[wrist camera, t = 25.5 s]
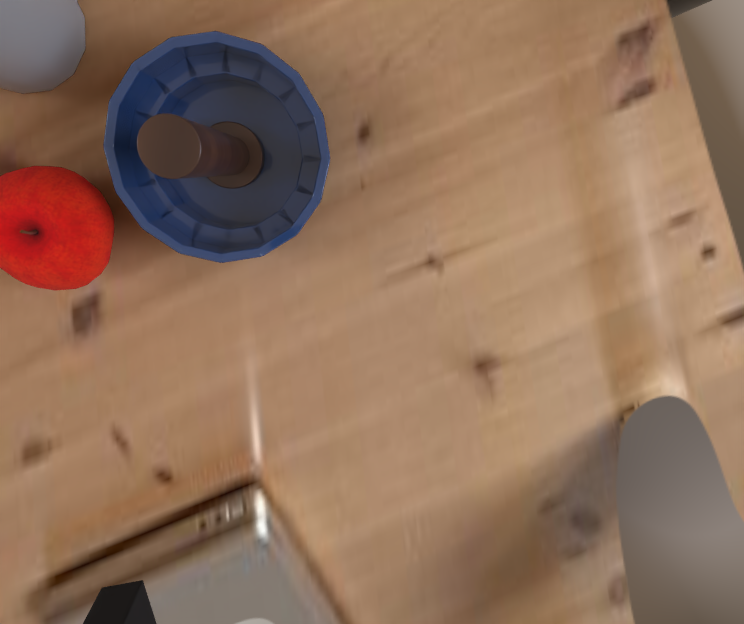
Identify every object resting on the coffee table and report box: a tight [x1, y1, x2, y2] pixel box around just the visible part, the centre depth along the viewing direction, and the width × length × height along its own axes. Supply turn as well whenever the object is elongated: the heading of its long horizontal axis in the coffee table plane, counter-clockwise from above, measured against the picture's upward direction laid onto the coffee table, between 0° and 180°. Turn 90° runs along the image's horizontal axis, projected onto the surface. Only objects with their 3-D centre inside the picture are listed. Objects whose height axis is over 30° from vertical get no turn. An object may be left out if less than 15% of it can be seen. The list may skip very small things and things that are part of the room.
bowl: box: [103, 31, 330, 263], centre depth 35 cm, size 13×13×6 cm
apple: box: [0, 166, 114, 290], centre depth 35 cm, size 8×8×7 cm
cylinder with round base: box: [137, 113, 264, 189], centre depth 30 cm, size 4×4×16 cm
